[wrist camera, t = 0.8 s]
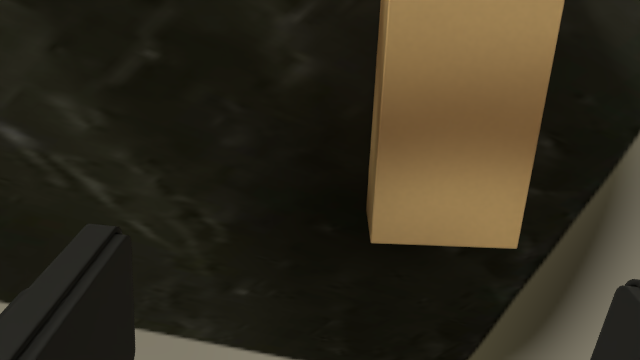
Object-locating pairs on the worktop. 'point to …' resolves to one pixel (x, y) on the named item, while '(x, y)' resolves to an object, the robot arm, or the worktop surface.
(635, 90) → the worktop surface
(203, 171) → the worktop surface
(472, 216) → the wooden block
